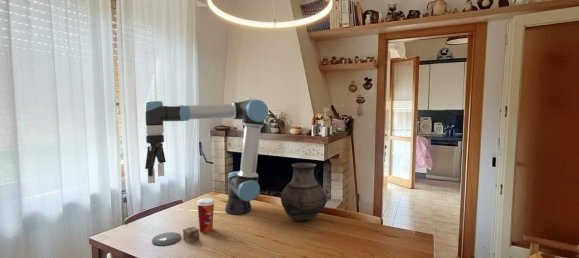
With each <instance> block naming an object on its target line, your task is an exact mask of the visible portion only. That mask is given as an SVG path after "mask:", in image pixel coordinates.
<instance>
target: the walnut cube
mask: <svg viewBox="0 0 579 258" xmlns="http://www.w3.org/2000/svg"><path fill="white" fill-rule="evenodd" d="M182 231H183V233H182V235H183V237H182V240H183V241H184V242H186V243H187V244H191V243H194V242H195V243H196V242H197V241H200V228H197V227H195V226H189V227H186V228H183V230H182Z"/></svg>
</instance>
